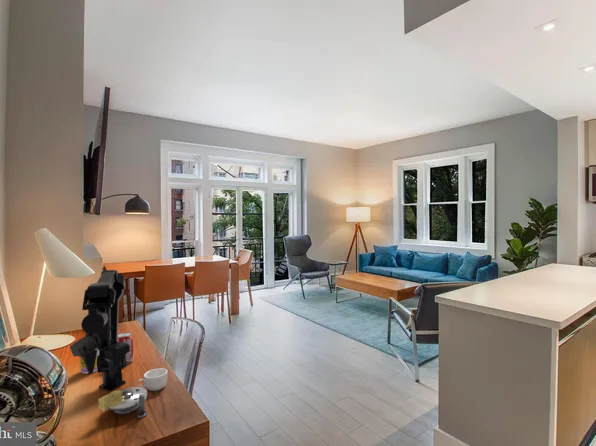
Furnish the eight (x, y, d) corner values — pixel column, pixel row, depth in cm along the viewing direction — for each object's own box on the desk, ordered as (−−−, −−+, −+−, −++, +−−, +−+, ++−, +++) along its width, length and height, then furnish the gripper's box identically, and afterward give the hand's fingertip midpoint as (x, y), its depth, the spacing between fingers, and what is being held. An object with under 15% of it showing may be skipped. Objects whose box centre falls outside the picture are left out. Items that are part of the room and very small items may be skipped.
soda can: (136, 358, 148) (136, 331, 148) (129, 365, 141) (128, 337, 141) (120, 359, 148) (119, 332, 148) (111, 366, 141) (111, 337, 141)
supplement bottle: (78, 371, 137) (77, 339, 137) (96, 365, 142) (96, 335, 142) (83, 376, 132) (82, 343, 132) (102, 370, 137) (101, 338, 137)
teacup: (165, 380, 127) (165, 366, 127) (169, 389, 120) (169, 374, 120) (136, 388, 122) (136, 373, 122) (138, 397, 115) (138, 381, 115)
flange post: (109, 412, 106) (109, 404, 106) (128, 401, 113) (128, 393, 113) (124, 417, 103) (124, 409, 103) (143, 405, 110) (143, 398, 110)
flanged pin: (134, 416, 104) (134, 397, 104) (142, 411, 106) (142, 392, 106) (141, 418, 102) (141, 399, 102) (149, 413, 105) (149, 394, 105)
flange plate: (129, 387, 116) (129, 375, 116) (155, 394, 111) (155, 381, 111) (88, 409, 103) (88, 395, 103) (115, 418, 98) (115, 403, 98)
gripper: (53, 329, 102) (54, 382, 102) (98, 335, 95) (99, 391, 95) (88, 320, 112) (89, 367, 112) (130, 324, 106) (131, 374, 105)
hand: (101, 375), depth 106 cm, fingers open, 9 cm apart
